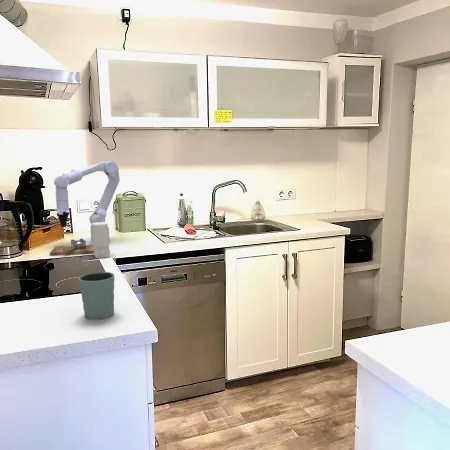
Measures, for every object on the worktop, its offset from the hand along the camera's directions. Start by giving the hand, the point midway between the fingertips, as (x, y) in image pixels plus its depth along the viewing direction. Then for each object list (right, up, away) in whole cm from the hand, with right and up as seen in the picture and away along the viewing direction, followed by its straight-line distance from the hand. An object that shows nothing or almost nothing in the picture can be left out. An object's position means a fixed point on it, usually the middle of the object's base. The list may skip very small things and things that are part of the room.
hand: (63, 226), depth 230 cm
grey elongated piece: (+9, -11, -12) cm, 18 cm away
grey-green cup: (+44, -26, -94) cm, 107 cm away
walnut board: (+8, -12, -8) cm, 17 cm away
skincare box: (+24, -14, -18) cm, 33 cm away
